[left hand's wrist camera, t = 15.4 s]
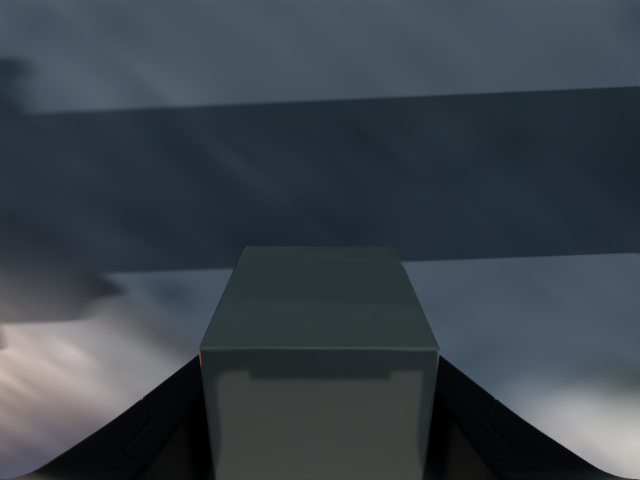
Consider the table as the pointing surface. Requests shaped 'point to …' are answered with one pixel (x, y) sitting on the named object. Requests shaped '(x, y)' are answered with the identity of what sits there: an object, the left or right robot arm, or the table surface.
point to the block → (319, 367)
